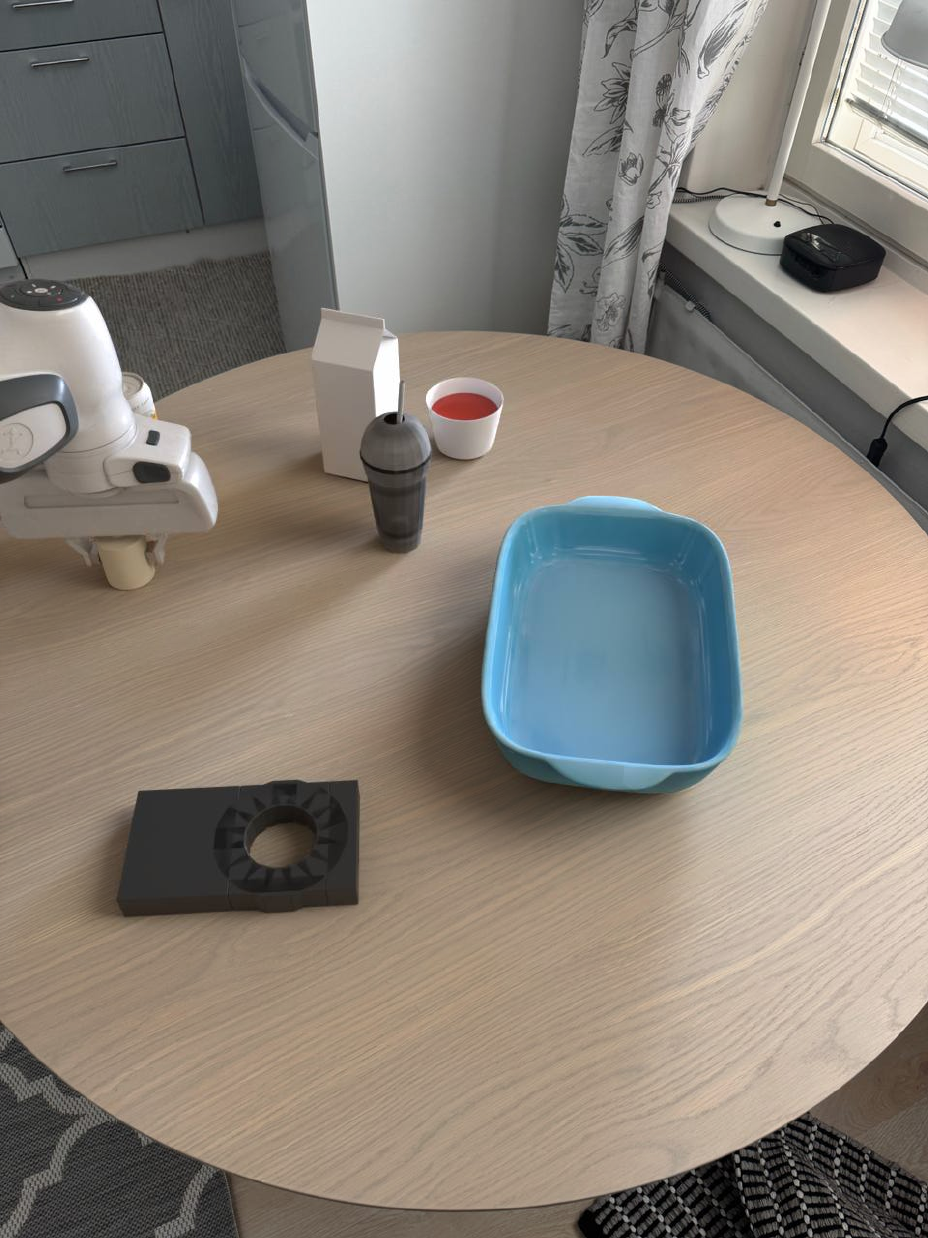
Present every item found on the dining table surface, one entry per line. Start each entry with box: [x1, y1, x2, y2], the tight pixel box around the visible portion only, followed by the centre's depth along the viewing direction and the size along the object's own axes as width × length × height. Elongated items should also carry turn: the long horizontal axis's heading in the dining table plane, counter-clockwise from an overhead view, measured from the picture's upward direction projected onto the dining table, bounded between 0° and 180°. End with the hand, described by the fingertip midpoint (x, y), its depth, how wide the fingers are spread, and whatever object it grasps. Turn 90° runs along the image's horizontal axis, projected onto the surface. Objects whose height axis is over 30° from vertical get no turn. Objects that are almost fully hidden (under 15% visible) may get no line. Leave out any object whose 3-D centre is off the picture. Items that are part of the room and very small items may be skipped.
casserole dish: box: [480, 495, 744, 794], centre depth 92 cm, size 37×22×7 cm, turn 173°
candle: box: [425, 377, 504, 460], centre depth 118 cm, size 9×9×6 cm
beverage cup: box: [359, 379, 433, 554], centre depth 100 cm, size 7×7×20 cm
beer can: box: [121, 371, 159, 420], centre depth 106 cm, size 6×6×15 cm
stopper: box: [93, 535, 156, 591], centre depth 101 cm, size 5×5×7 cm
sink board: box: [116, 779, 361, 918], centre depth 80 cm, size 18×11×2 cm, turn 94°
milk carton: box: [310, 307, 401, 483], centre depth 110 cm, size 7×7×19 cm
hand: (127, 560), depth 102 cm, fingers closed on stopper, 5 cm apart
